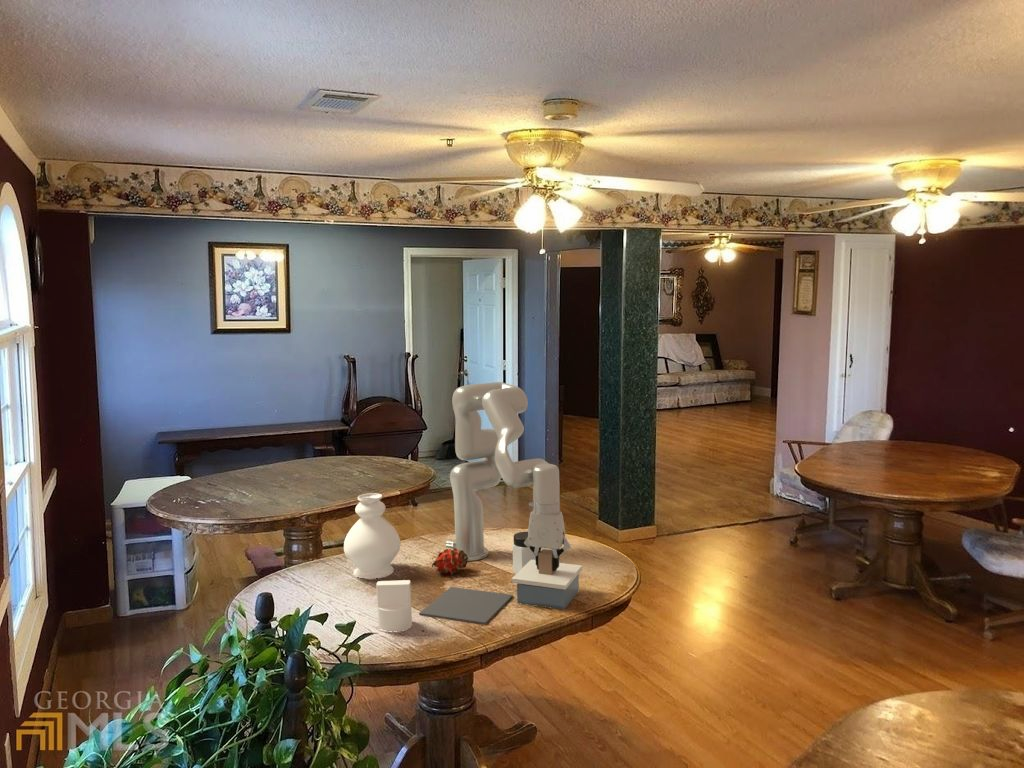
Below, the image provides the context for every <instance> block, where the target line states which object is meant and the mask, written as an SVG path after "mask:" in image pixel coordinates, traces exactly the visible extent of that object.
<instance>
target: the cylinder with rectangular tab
mask: <svg viewBox="0 0 1024 768" xmlns="http://www.w3.org/2000/svg"><path fill="white" fill-rule="evenodd" d="M411 592H412V591H411V580H410V579H407V580H406V579H402V580H380V581H379V580H378V581H377V582H376V602H377V603H376V604H377V619H378V620H377V623H378V625H377V626H379V627H378V629H379V628H380V629H383V630H386V631H392V632H394V631H397V632H396V633H399V632H398V631H402V632H404V631H403V630H405V631H407V630H409V629H410V628H411V627H412V626H413V619H412V618H413V615H412V594H411ZM411 625H412V626H411ZM409 627H410V628H409ZM408 628H409V629H408ZM380 629H379V630H380ZM406 629H407V630H406Z"/></svg>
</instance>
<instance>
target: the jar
mask: <svg viewBox="0 0 1024 768" xmlns="http://www.w3.org/2000/svg"><path fill="white" fill-rule="evenodd" d="M527 537H528V531H520V532H516V533H514V535H513V544H512V573H513V574H514V575H516V574H517V573H518V572H519V571H520V570H521V569H522V568H523V567H524V566H525V565H526V564H527V563H528V562H529V561H530V560H536V556H535V555H534V553H533V552H532V551H531V550H530V548H529V547H527V546H526V545H525V544H524V542H525V540H526V539H527Z"/></svg>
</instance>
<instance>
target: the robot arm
mask: <svg viewBox="0 0 1024 768" xmlns="http://www.w3.org/2000/svg"><path fill="white" fill-rule="evenodd" d="M451 403H452V408H453V413H454V419H455V425H454V427H455V428H454V430H455V431H454V432H455V436H454V437H455V438H454V441H455V442H454V449H455V454H456V458H458V459H459V460H461V461H469V462H462V463H459V464H457V465H455V466H454V467H453V468H452V469H451V470H450V473H449V480H450V485H451V489H452V496H453V509H454V510H453V511H454V512H453V514H454V538H455V540H451V539H450V540H449V539H447V540H446V541H445V548H446V549H451V550H453V548H456V549H457V550H460V551H461V550H463V551H464V553H466V554H467V557H468V559H467V562H468V561H469V562H473V561H478V560H482V559H485V558H487V557H488V556H489V555H490V554H489V549H488V548H487V547H485V541H484V540H485V539H484V535H485V534H484V510H483V509H484V508H483V502H482V499H481V498H480V496H479V495H478V494H477V493H476V491H480V490H484V489H485V490H486V489H490V488H494V487H495V486H498V485H499V483H500V482H501V479H502V480H503V482H504V483H505V485H507V487H509V488H512V489H519V488H524V487H529V486H532V497H533V498H532V501H529V502H528V507H531V508H532V511H530V515H529V521H528V530H527V532H528V537H527V539H526V540H525V542H524V544H525V545H526V546H527V547H529V548H530V550H531V551H532V552H533V553H534V555H535V556H536V565H537V569H538V570H539V566H538V553H539V552H540V551H541V550H542V549H548V550H553V558H552V571H556V570H557V568H558V567H559V563H560V556H561V555H562V554H563V553H564V552H567V551H568V550H570V549H571V548H572V546H571V545H570V543H569V540H567V538H566V529H565V528H566V527H565V521H564V516H563V512H562V511H561V509H560V507H561V506H560V505H561V503H560V502H561V501H560V498H561V497H560V469H559V467H558V465H556V464H552V463H549V462H548V461H546V460H545V459H543V458H541V457H540V458H531V459H523V460H517V461H513V460H512V458H511V456H510V453H509V451H508V446H510V445H511V444H512V443H514V442H516V440H518V439H519V438H520V437H521V436H522V435H523V433H524V431H525V426H524V424H523V423H522V420H521V419H520V416H519V414H522V413H525V412H526V411H527V409H528V405H529V403H528V397H527V394H526V393H525V390H523V389H522V388H520V387H519V386H516V385H512V384H509V383H506V382H500V381H495V382H494V381H493V382H485V383H475V384H468V385H462V386H459V387H457V388H456V389H455V390H454V391H453V395H452V401H451ZM478 411H484V412H485V414H486V416H487V418H488V420H489V423H490V424H491V426H492V428H483V429H482V417H481V415H480V413H479V412H478ZM479 459H482V460H479ZM471 460H476V461H471Z"/></svg>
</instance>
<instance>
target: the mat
mask: <svg viewBox="0 0 1024 768" xmlns="http://www.w3.org/2000/svg"><path fill="white" fill-rule="evenodd" d="M513 597H514V595H513V594H508V593H502V592H495V591H494V592H493V591H487V590H486V591H485V590H479V589H471V588H463V587H462V588H461V587H456V586H450V587H449V588H448V589H446V590H445V591H444V592H443V593H442V594H440V596H438V597H436V599H434V600H433V601H432V602H430V603H429V604H428V605H427V606H426V607H425V608H424V609H423V610H421V611H420V612H419V614H418V615H419V616H423V615H424V616H423V617H429V616H431V618H436V617H438V619H443V618H445V620H451V621H458V622H464V621H465V623H473V624H479V625H484V626H485V625H486V624H488V622H490V621H491V620H492V619H493V618H494V617H495V616H496V615H497V614H498V612H500V611H501V610H502V608H503V607H504V606H505V605H506V604H507V603H509V602H510V600H511V599H512V598H513ZM486 626H487V625H486Z"/></svg>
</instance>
